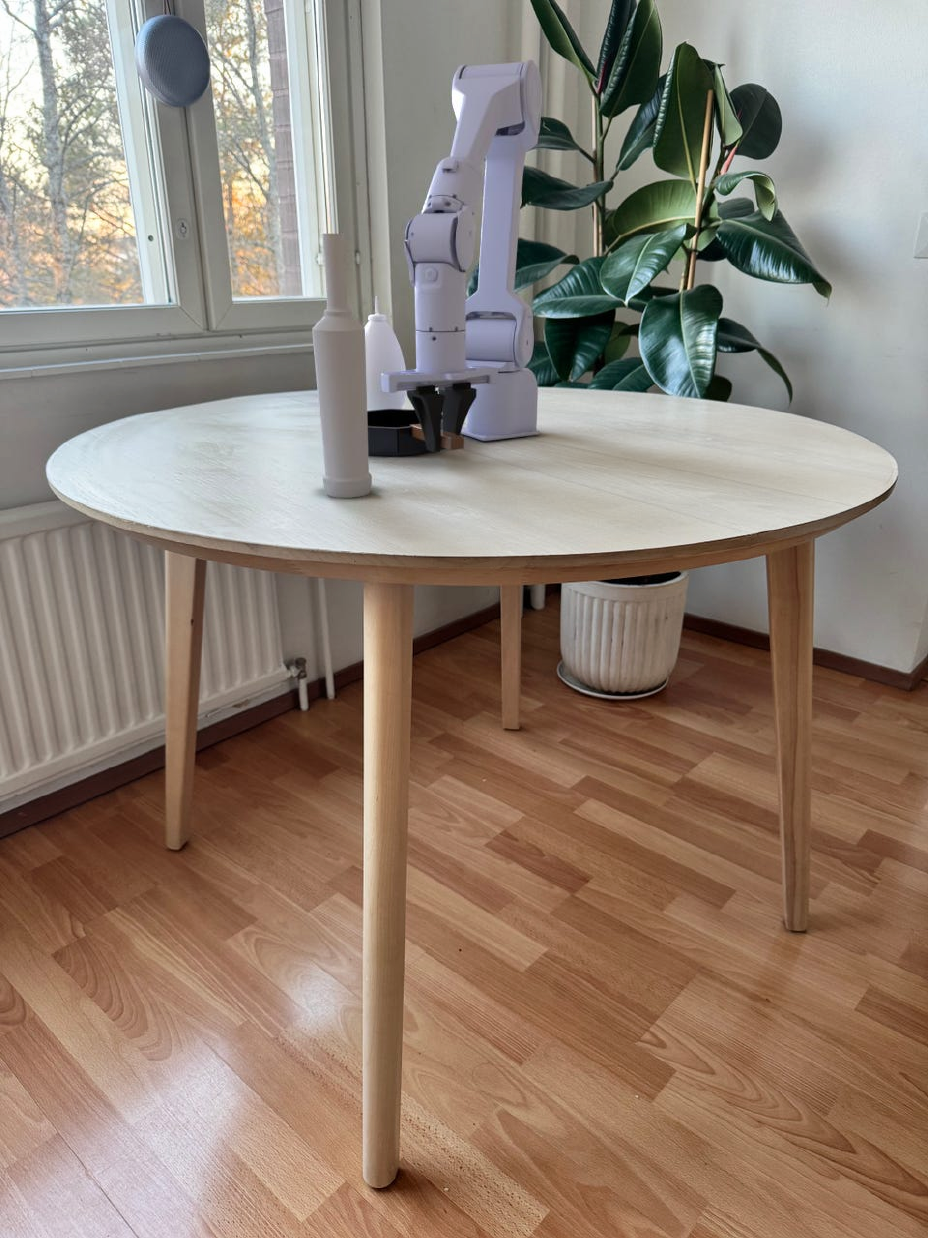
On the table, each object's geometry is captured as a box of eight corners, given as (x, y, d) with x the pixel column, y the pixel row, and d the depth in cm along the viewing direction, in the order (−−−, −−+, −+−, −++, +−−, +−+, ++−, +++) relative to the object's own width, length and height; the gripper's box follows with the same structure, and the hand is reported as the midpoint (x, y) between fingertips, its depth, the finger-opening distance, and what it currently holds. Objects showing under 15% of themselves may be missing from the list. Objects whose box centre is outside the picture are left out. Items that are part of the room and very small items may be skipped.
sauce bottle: (352, 420, 127) (345, 293, 119) (402, 418, 128) (399, 293, 121) (358, 430, 120) (351, 296, 112) (412, 427, 121) (408, 295, 114)
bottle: (325, 486, 91) (307, 234, 81) (372, 485, 91) (361, 234, 81) (321, 499, 86) (302, 232, 76) (372, 497, 86) (359, 233, 76)
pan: (415, 430, 119) (415, 404, 118) (507, 461, 101) (507, 431, 99) (324, 441, 113) (322, 413, 111) (404, 476, 94) (403, 443, 93)
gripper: (399, 335, 88) (403, 463, 93) (513, 329, 95) (510, 448, 100) (371, 330, 93) (376, 451, 99) (480, 325, 100) (479, 438, 106)
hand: (441, 449), depth 100 cm, fingers closed on pan, 2 cm apart
